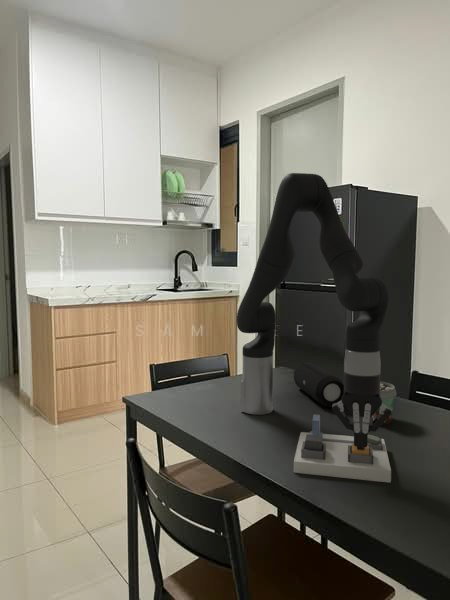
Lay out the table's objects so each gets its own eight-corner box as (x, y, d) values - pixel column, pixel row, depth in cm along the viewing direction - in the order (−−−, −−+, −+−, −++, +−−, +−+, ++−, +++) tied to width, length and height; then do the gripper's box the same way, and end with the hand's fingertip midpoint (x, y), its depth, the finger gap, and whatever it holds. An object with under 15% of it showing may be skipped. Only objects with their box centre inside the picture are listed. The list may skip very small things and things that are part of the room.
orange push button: (351, 460, 102) (351, 450, 102) (351, 453, 106) (351, 444, 106) (369, 461, 101) (369, 451, 101) (368, 455, 105) (368, 445, 105)
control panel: (293, 472, 102) (293, 453, 102) (300, 441, 120) (300, 425, 119) (390, 482, 98) (391, 463, 97) (383, 448, 115) (383, 432, 115)
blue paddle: (309, 440, 113) (309, 420, 113) (310, 433, 117) (310, 414, 117) (321, 441, 112) (322, 421, 112) (322, 434, 116) (323, 415, 116)
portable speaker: (291, 388, 170) (291, 361, 169) (317, 387, 172) (317, 360, 171) (318, 410, 145) (318, 378, 144) (348, 408, 147) (349, 377, 146)
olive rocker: (362, 441, 110) (363, 436, 110) (362, 437, 112) (363, 432, 112) (378, 446, 109) (379, 441, 109) (377, 441, 112) (378, 437, 111)
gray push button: (305, 449, 105) (305, 440, 104) (306, 443, 108) (306, 434, 108) (321, 451, 104) (321, 441, 104) (322, 445, 107) (322, 435, 107)
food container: (399, 428, 129) (400, 392, 128) (375, 426, 130) (376, 391, 130) (392, 413, 141) (393, 381, 140) (371, 412, 142) (371, 380, 142)
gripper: (330, 372, 100) (329, 452, 101) (396, 376, 97) (394, 458, 98) (331, 365, 107) (330, 439, 109) (392, 368, 104) (390, 444, 105)
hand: (360, 448), depth 103 cm, fingers closed
